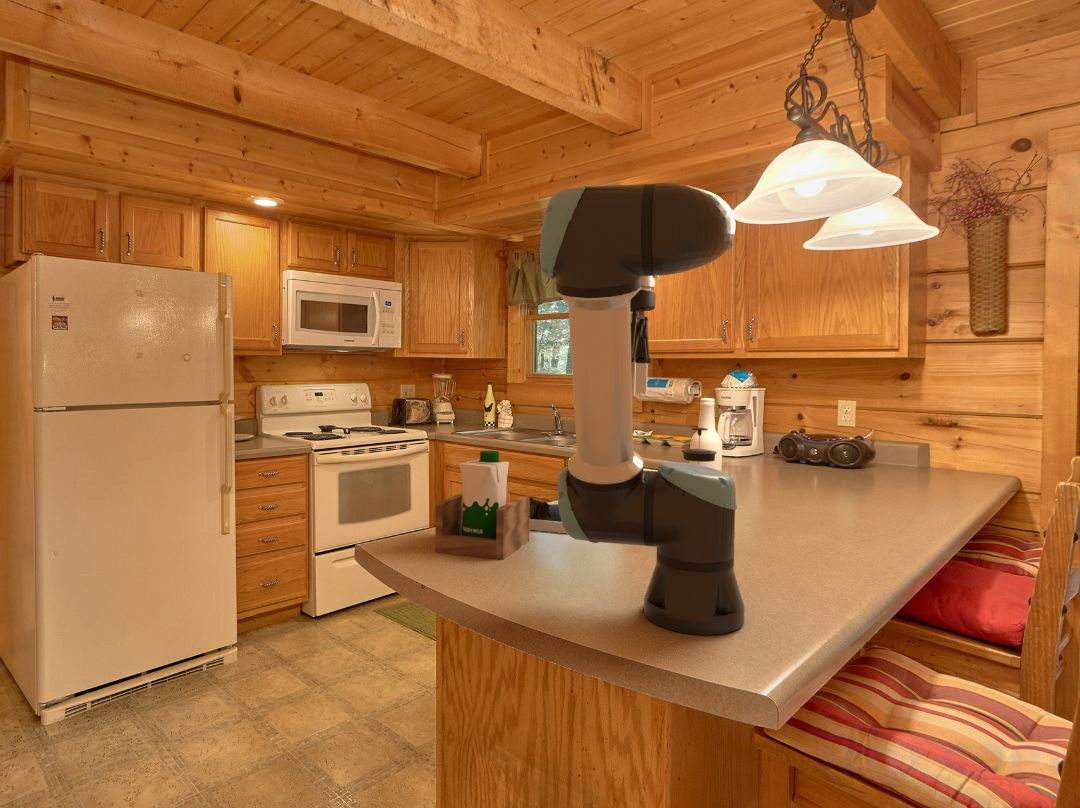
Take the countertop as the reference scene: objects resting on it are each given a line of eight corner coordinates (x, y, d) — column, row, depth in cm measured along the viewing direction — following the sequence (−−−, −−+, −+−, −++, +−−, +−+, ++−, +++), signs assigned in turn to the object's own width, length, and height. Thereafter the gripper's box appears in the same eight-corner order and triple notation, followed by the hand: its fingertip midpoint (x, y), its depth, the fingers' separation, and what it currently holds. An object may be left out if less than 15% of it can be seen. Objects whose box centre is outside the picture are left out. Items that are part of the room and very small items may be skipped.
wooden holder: (503, 559, 130) (503, 509, 129) (435, 551, 135) (435, 503, 134) (529, 541, 144) (529, 495, 144) (466, 534, 149) (467, 490, 148)
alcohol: (715, 509, 180) (718, 399, 178) (684, 505, 185) (687, 398, 183) (724, 503, 187) (727, 398, 186) (694, 500, 192) (697, 397, 190)
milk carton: (511, 544, 141) (513, 452, 140) (489, 555, 133) (490, 456, 132) (477, 539, 145) (478, 449, 144) (453, 549, 137) (454, 453, 136)
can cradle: (569, 534, 150) (569, 523, 150) (519, 529, 154) (520, 518, 154) (586, 520, 165) (586, 510, 165) (540, 515, 169) (541, 506, 169)
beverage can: (543, 535, 153) (581, 531, 161) (548, 504, 152) (587, 501, 159) (521, 521, 160) (559, 517, 168) (526, 491, 159) (564, 488, 166)
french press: (670, 515, 171) (673, 427, 170) (684, 509, 179) (687, 425, 178) (714, 522, 165) (717, 430, 163) (727, 515, 172) (730, 428, 171)
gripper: (644, 282, 121) (641, 397, 122) (664, 296, 145) (661, 393, 146) (604, 283, 124) (602, 396, 125) (630, 297, 147) (628, 392, 148)
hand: (634, 394), depth 135 cm, fingers open, 13 cm apart
